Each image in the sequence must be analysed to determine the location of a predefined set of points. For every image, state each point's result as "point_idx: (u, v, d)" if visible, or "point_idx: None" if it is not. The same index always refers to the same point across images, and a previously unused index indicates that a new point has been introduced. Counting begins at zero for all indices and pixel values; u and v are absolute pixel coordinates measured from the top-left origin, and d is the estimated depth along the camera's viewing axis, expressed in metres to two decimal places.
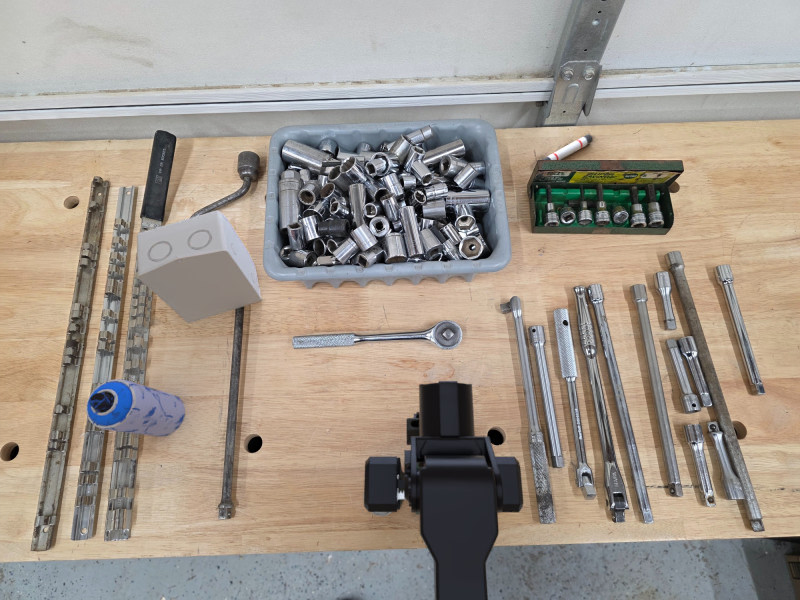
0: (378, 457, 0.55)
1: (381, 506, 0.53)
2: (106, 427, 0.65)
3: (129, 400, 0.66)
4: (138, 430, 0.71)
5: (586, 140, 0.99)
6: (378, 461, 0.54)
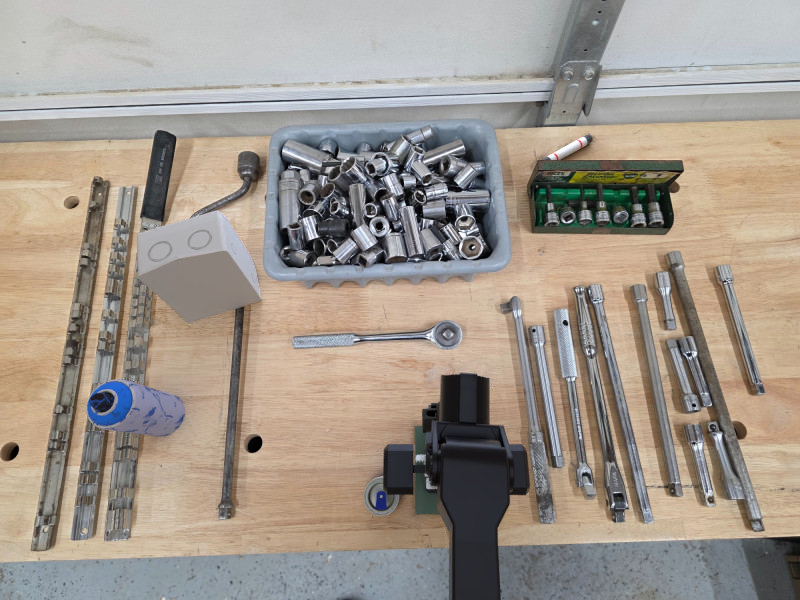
0: (395, 445, 0.59)
1: (399, 489, 0.57)
2: (106, 427, 0.65)
3: (129, 400, 0.66)
4: (138, 430, 0.71)
5: (586, 140, 0.99)
6: (396, 448, 0.59)
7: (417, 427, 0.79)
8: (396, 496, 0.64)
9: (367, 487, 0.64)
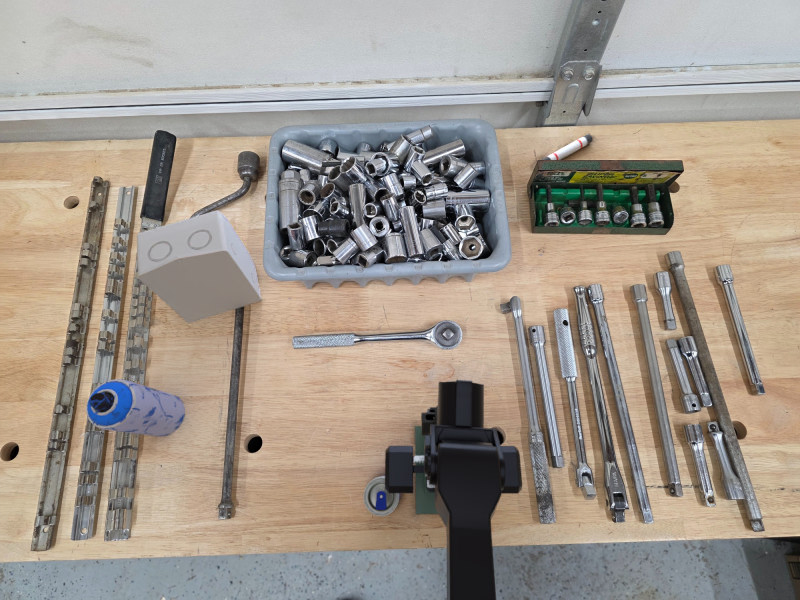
0: (396, 446, 0.64)
1: (400, 488, 0.61)
2: (106, 427, 0.65)
3: (129, 400, 0.66)
4: (138, 430, 0.71)
5: (586, 140, 0.99)
6: (397, 450, 0.63)
7: (417, 427, 0.79)
8: (396, 496, 0.64)
9: (367, 487, 0.64)
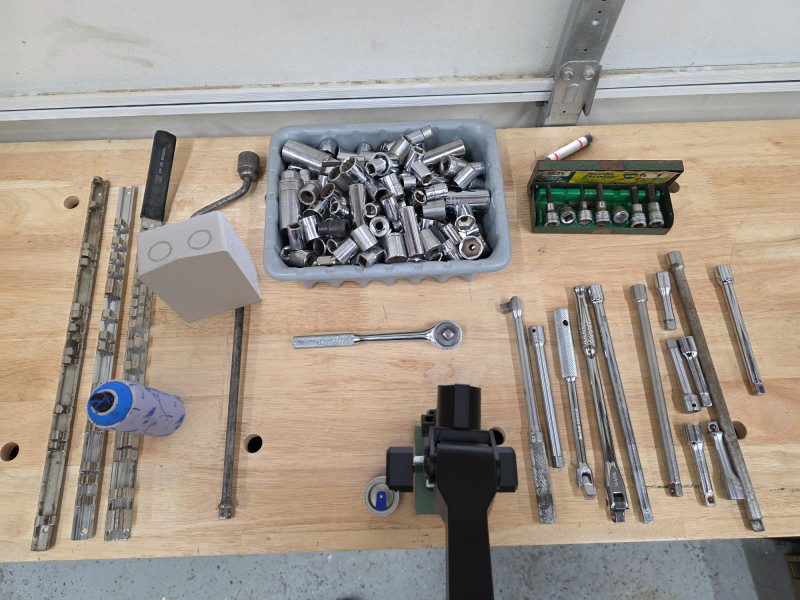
0: (397, 447, 0.66)
1: (400, 487, 0.63)
2: (106, 427, 0.65)
3: (129, 400, 0.66)
4: (138, 430, 0.71)
5: (586, 140, 0.99)
6: (397, 450, 0.65)
7: (417, 427, 0.79)
8: (396, 496, 0.64)
9: (367, 487, 0.64)
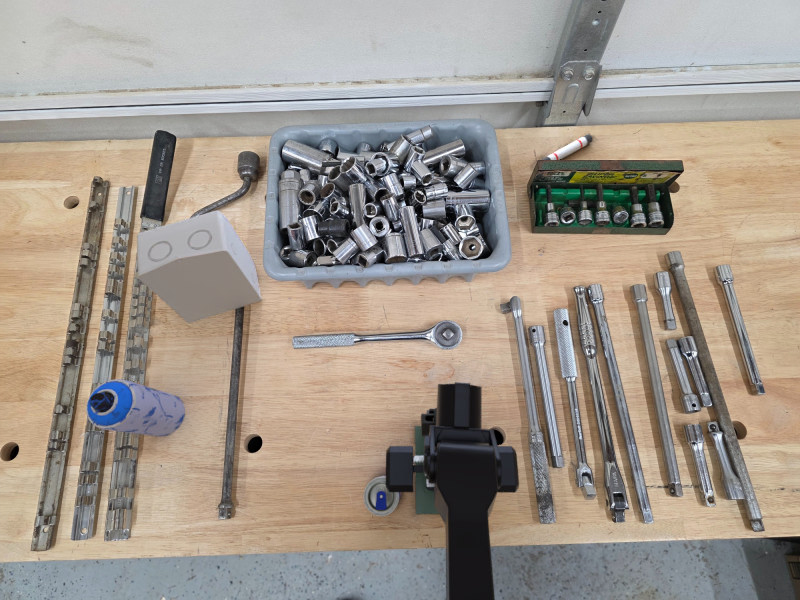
0: (397, 446, 0.65)
1: (400, 487, 0.63)
2: (106, 427, 0.65)
3: (129, 400, 0.66)
4: (138, 430, 0.71)
5: (586, 140, 0.99)
6: (397, 450, 0.65)
7: (417, 427, 0.79)
8: (396, 496, 0.64)
9: (367, 487, 0.64)
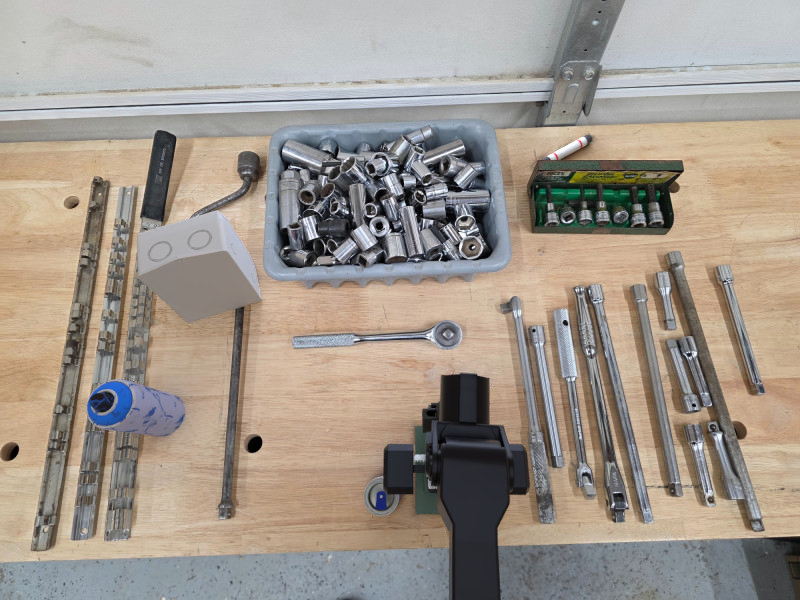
0: (396, 444, 0.59)
1: (399, 489, 0.57)
2: (106, 427, 0.65)
3: (129, 400, 0.66)
4: (138, 430, 0.71)
5: (586, 140, 0.99)
6: (396, 448, 0.59)
7: (417, 427, 0.79)
8: (396, 496, 0.64)
9: (367, 487, 0.64)
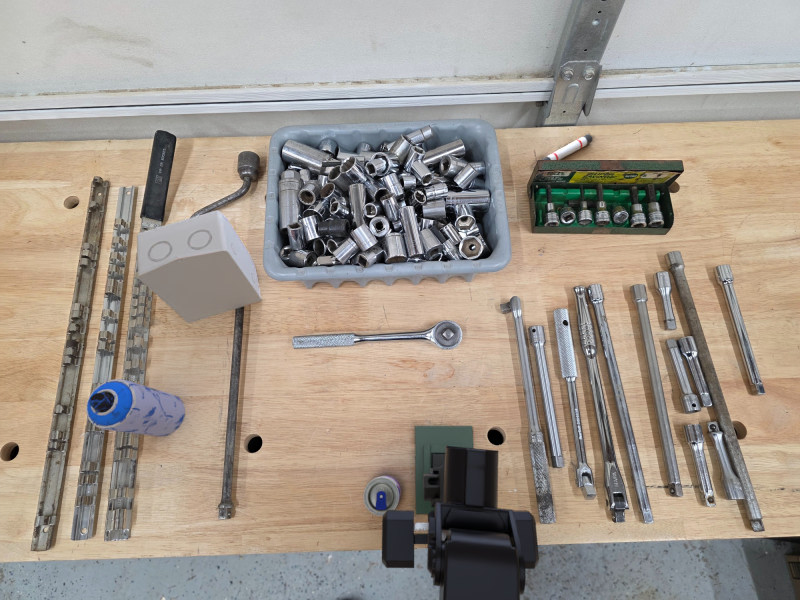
0: (395, 512, 0.56)
1: (399, 562, 0.53)
2: (106, 427, 0.65)
3: (129, 400, 0.66)
4: (138, 430, 0.71)
5: (586, 140, 0.99)
6: (395, 516, 0.55)
7: (417, 427, 0.79)
8: (396, 496, 0.64)
9: (367, 487, 0.64)
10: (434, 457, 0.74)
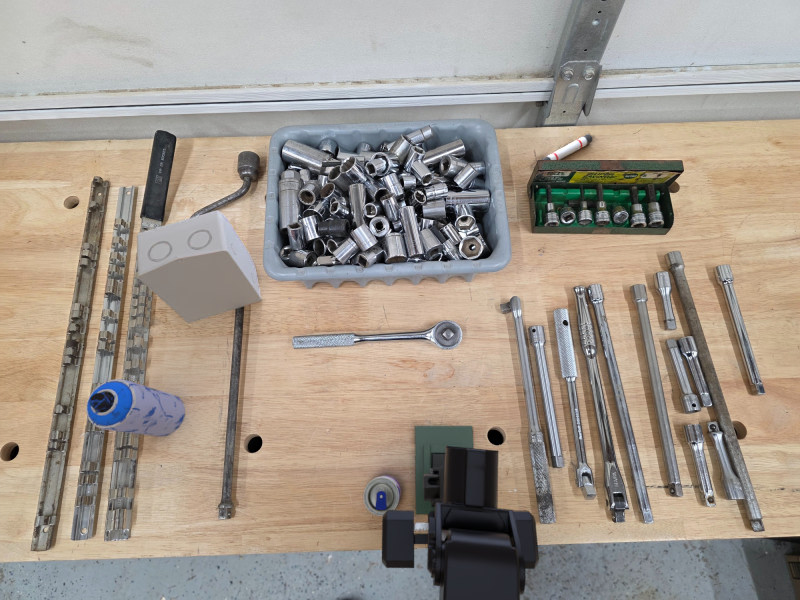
0: (395, 512, 0.56)
1: (399, 562, 0.53)
2: (106, 427, 0.65)
3: (129, 400, 0.66)
4: (138, 430, 0.71)
5: (586, 140, 0.99)
6: (395, 516, 0.55)
7: (417, 427, 0.79)
8: (396, 496, 0.64)
9: (367, 487, 0.64)
10: (434, 457, 0.74)
